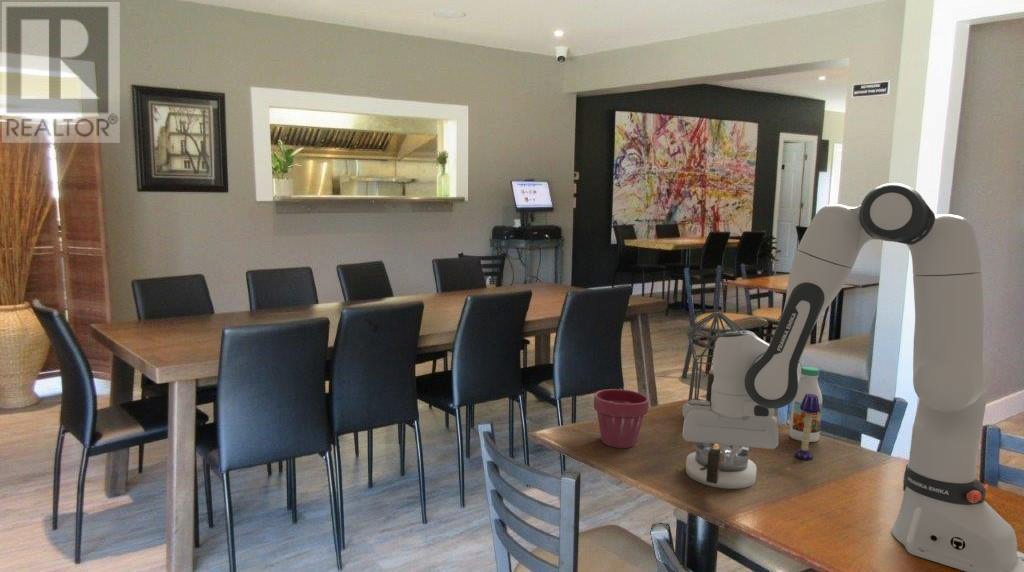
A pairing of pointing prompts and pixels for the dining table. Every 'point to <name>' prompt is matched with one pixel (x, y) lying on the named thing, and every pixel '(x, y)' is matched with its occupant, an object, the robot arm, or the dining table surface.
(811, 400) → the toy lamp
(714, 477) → the lugged steel disc
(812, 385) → the milk bottle
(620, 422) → the plant pot
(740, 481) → the white round plate
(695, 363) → the geometric lantern
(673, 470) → the dining table surface
